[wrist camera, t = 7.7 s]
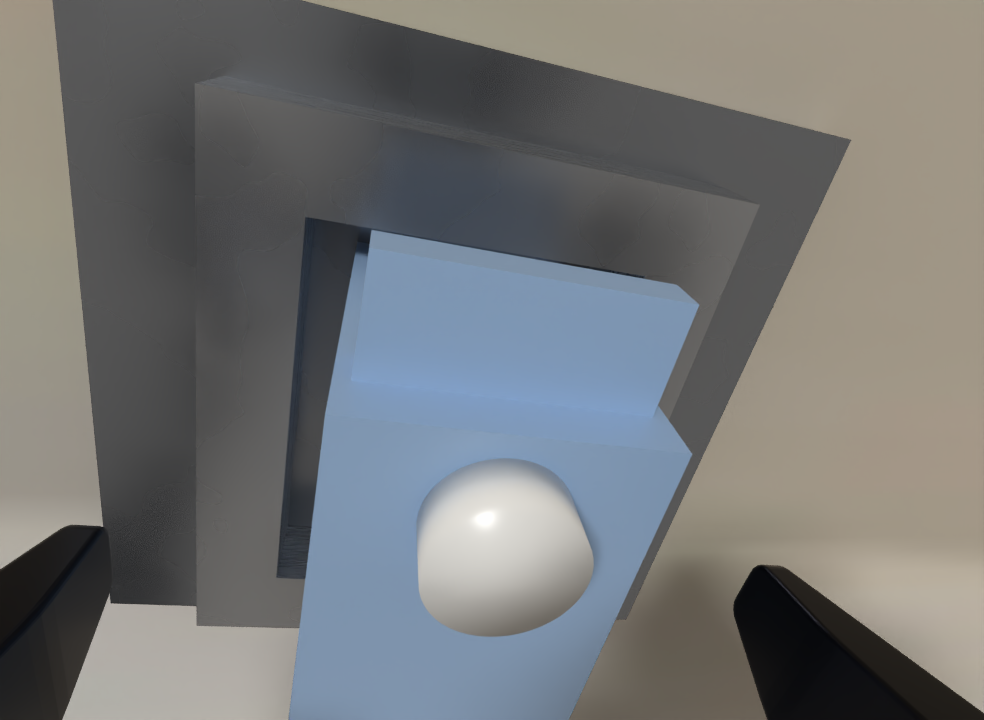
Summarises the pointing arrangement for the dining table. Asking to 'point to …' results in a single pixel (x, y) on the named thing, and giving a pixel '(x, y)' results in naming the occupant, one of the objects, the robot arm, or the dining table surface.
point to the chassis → (333, 240)
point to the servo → (483, 482)
